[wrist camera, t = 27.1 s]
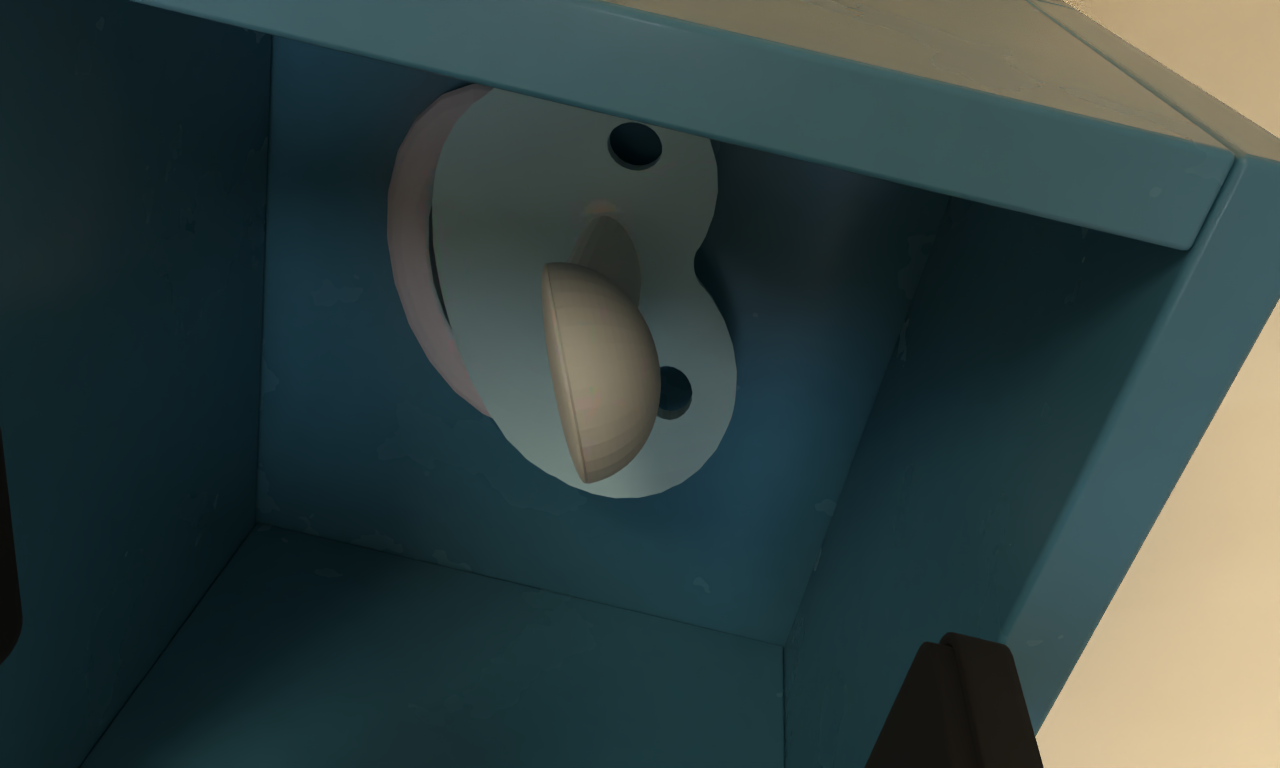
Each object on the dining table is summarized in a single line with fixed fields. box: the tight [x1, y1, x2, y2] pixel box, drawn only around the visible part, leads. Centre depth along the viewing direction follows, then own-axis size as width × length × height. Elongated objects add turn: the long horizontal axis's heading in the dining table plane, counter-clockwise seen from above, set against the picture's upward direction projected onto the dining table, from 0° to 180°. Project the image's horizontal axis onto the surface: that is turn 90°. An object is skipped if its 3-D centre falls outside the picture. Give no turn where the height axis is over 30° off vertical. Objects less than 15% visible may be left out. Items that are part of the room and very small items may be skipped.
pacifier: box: [387, 84, 737, 498], centre depth 16 cm, size 7×6×6 cm
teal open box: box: [0, 0, 1280, 768], centre depth 16 cm, size 14×13×9 cm
